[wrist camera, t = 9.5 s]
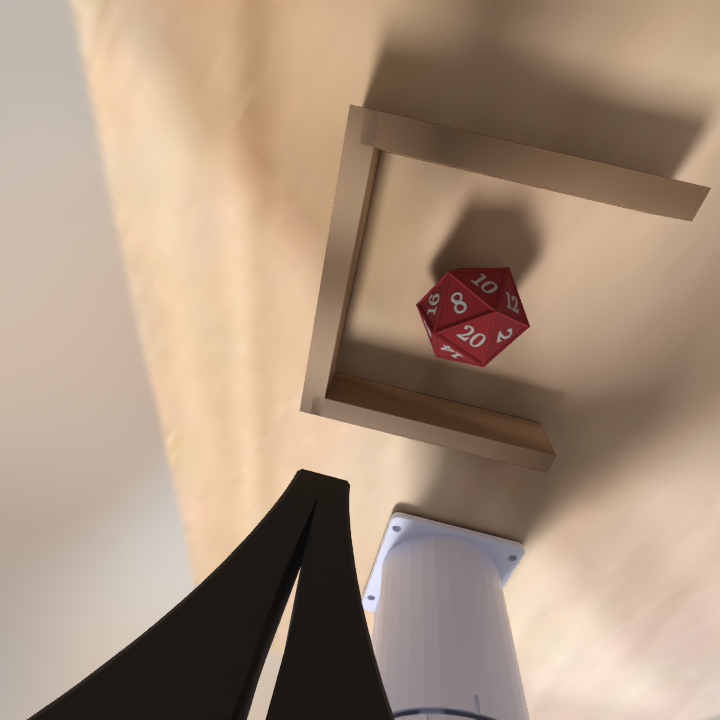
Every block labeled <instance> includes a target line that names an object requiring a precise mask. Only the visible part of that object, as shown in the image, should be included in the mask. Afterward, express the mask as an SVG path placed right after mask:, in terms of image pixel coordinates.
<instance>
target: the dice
mask: <svg viewBox="0 0 720 720" xmlns="http://www.w3.org/2000/svg"><path fill="white" fill-rule="evenodd" d="M416 306H417V308H418V310H419V313H420V315H421V318H422V321H423V323H424V326H425V329H426V331H427V334H428V337H429V339H430V342H431V345H432V347H433V350H434V353H435V356H436V357H439V358H443V359H448V360H453V361H457V362H462V363H466V364H471V365H476V366H480V367H485V366H486V365H487V364H488V363H489V362H490V361H491V360H492V359H493V358H495V357H496V356H497V355H498V354H499V353H500V352H501V351H503V350H504V349H505V348H506V347H507V346H508V345H509V344H511V343H512V342H513V341H514V340H515V339H516V338H517V337H519V336H520V335H521V334H522V333H523V332H524V331H525V330H526V329H528V328H529V327H530V325H529V322H528V320H527V317H526V314H525V311H524V308H523V305H522V303H521V300H520V297H519V294H518V291H517V288H516V285H515V283H514V280H513V277H512V274H511V271H510V268H509V267H508V268H462V269H461V268H458V269H455V270H452V271H448V272H447V273H446V274H445V275H444V277H443V278H442V279H441V280H440V281H439V282H438V283H437V284H436V285H435V286H434V287H433V288H432V289H431V290H430V291H429V292H428V293H427V294H426V295H425V296H424V297H423V298H422V299H421V300H420V301H419V302H418V303H417V304H416Z"/></svg>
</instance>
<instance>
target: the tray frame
mask: <svg viewBox="0 0 720 720" xmlns="http://www.w3.org/2000/svg"><path fill="white" fill-rule="evenodd" d="M380 151H384V152H388V153H393V154H397V155H401V156H405V157H410V158H414V159H418V160H423V161H427V162H431V163H435V164H440V165H444V166H448V167H453V168H457V169H461V170H465V171H470V172H474V173H478V174H482V175H487V176H491V177H495V178H500V179H504V180H508V181H512V182H517V183H521V184H525V185H529V186H534V187H538V188H542V189H547V190H551V191H555V192H559V193H564V194H568V195H572V196H576V197H581V198H585V199H589V200H594V201H598V202H602V203H606V204H611V205H615V206H619V207H624V208H628V209H632V210H636V211H641V212H645V213H649V214H654V215H660V216H665V217H671V218H676V219H682V220H687V221H692V220H693V218H694V217H695V215H696V213H697V212H698V210H699V208H700V206H701V205H702V203H703V201H704V199H705V198H706V196H707V194H708V193H709V191H710V189H711V188H709V187H705V186H700V185H696V184H692V183H687V182H683V181H679V180H674V179H670V178H666V177H661V176H657V175H653V174H648V173H644V172H640V171H636V170H631V169H627V168H623V167H618V166H614V165H610V164H605V163H601V162H597V161H592V160H588V159H584V158H579V157H575V156H571V155H566V154H562V153H558V152H553V151H549V150H545V149H541V148H536V147H532V146H528V145H523V144H519V143H515V142H510V141H506V140H502V139H497V138H493V137H489V136H484V135H480V134H476V133H471V132H467V131H463V130H459V129H454V128H450V127H446V126H441V125H437V124H433V123H428V122H424V121H420V120H415V119H411V118H407V117H402V116H398V115H394V114H389V113H385V112H381V111H376V110H372V109H368V108H364V107H359V106H355V105H351V104H350V108H349V114H348V120H347V126H346V132H345V138H344V145H343V151H342V157H341V163H340V169H339V175H338V181H337V187H336V193H335V199H334V206H333V212H332V218H331V224H330V230H329V236H328V242H327V248H326V254H325V260H324V267H323V273H322V279H321V285H320V291H319V297H318V303H317V309H316V315H315V321H314V328H313V334H312V340H311V346H310V352H309V358H308V364H307V370H306V376H305V382H304V389H303V395H302V401H301V407H300V411H302V412H306V413H310V414H314V415H318V416H322V417H326V418H330V419H334V420H338V421H342V422H346V423H350V424H354V425H358V426H362V427H366V428H370V429H374V430H378V431H382V432H386V433H390V434H394V435H398V436H402V437H406V438H410V439H414V440H418V441H422V442H426V443H430V444H434V445H438V446H442V447H446V448H450V449H454V450H458V451H462V452H466V453H470V454H474V455H478V456H482V457H486V458H489V459H493V460H497V461H501V462H505V463H509V464H513V465H517V466H521V467H525V468H529V469H533V470H537V471H541V472H545V473H547V471H548V469H549V468H550V466H551V464H552V462H553V461H554V459H555V457H556V455H555V453H554V451H553V449H552V447H551V445H550V443H549V441H548V439H547V437H546V434H545V432H544V430H543V428H542V426H541V424H540V423H538V422H534V421H530V420H526V419H522V418H518V417H514V416H510V415H506V414H502V413H498V412H494V411H490V410H486V409H482V408H478V407H474V406H470V405H466V404H462V403H457V402H453V401H449V400H445V399H441V398H437V397H433V396H429V395H425V394H421V393H417V392H413V391H409V390H405V389H401V388H397V387H393V386H389V385H385V384H381V383H377V382H373V381H369V380H365V379H361V378H357V377H352V376H348V375H344V374H340V373H336V372H335V370H336V365H337V360H338V355H339V350H340V345H341V340H342V335H343V330H344V325H345V321H346V316H347V311H348V306H349V301H350V296H351V291H352V286H353V281H354V276H355V271H356V267H357V262H358V257H359V252H360V247H361V242H362V237H363V232H364V227H365V222H366V217H367V213H368V208H369V203H370V198H371V193H372V188H373V183H374V178H375V173H376V168H377V164H378V159H379V154H380Z"/></svg>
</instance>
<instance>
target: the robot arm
mask: <svg viewBox="0 0 720 720" xmlns="http://www.w3.org/2000/svg"><path fill="white" fill-rule="evenodd" d="M349 491H350V484H349V483H348V481H346V480H342V479H338V478H335V477H331V476H327V475H323V474H319V473H316V472H312V471H308V470H304V469H301V470H299V471H297V473H296V475H295V476H294V478H293V480H292V481H291V483H290V484H289V486H288V487H287V489H286V490H285V491H284V493H283V494H282V496H281V497H280V498H279V499H278V501H277V502H276V503H275V505H274V506H273V507H272V508H271V510H270V511H269V512H268V513H267V514H266V516H265V517H264V518H263V519H262V520H261V521H260V523H259V524H258V525H257V526H256V527H255V529H254V530H253V531H252V532H251V533H250V534H249V535H248V536H247V537H246V538H245V540H244V541H243V542H242V543H241V544H240V545H239V546H238V547H237V548H236V549H235V550H234V551H233V552H232V553H231V554H230V555H229V556H228V557H227V558H226V560H225V561H224V562H223V563H222V564H221V565H220V566H219V567H218V568H216V569H215V570H214V571H213V572H212V573H211V574H210V575H209V576H208V577H207V578H206V579H205V580H204V581H203V582H202V583H201V584H200V585H199V586H198V587H196V588H195V589H194V590H193V591H192V592H191V593H190V594H189V595H188V596H187V597H186V598H184V599H183V600H182V601H181V602H180V603H179V604H177V605H176V606H175V607H174V608H173V609H172V610H171V611H169V612H168V613H167V614H166V615H165V616H164V617H162V618H161V619H160V620H159V621H158V622H157V623H156V624H154V625H153V626H152V627H150V628H149V629H148V630H147V631H146V632H144V633H143V634H142V635H141V636H139V637H138V638H137V639H136V640H135V641H133V642H132V643H131V644H129V645H128V646H127V647H125V649H123V650H122V651H120V652H119V653H118V654H116V655H115V656H114V657H112V658H111V659H110V660H109V661H107V662H106V663H105V664H103V665H102V666H101V667H99V668H98V669H97V670H96V671H94V672H93V673H92V674H90V675H89V676H88V677H86V678H85V679H84V680H82V681H81V682H80V683H78V684H77V685H76V686H74V687H73V688H71V689H70V690H69V691H67V692H66V693H65V694H63V695H62V696H60V697H59V698H57V699H56V700H55V701H53V702H52V703H50V704H49V705H47V706H46V707H44V708H43V709H42V710H40V711H39V712H37V713H36V714H34V715H33V716H32V717H30V718H29V719H27V720H247V717H248V714H249V711H250V707H251V704H252V700H253V697H254V693H255V690H256V687H257V684H258V680H259V678H260V675H261V672H262V669H263V666H264V663H265V660H266V657H267V654H268V652H269V649H270V647H271V644H272V641H273V639H274V636H275V633H276V631H277V628H278V625H279V623H280V620H281V617H282V615H283V612H284V610H285V607H286V604H287V602H288V599H289V596H290V594H291V591H292V588H293V586H294V583H295V580H296V578H297V575H298V572H299V570H300V574H299V579H298V584H297V589H296V594H295V600H294V605H293V610H292V615H291V620H290V625H289V630H288V636H287V641H286V646H285V651H284V655H283V658H282V662H281V666H280V669H279V673H278V677H277V680H276V684H275V687H274V691H273V695H272V699H271V702H270V706H269V709H268V713H267V716H266V720H530V719H529V714H528V709H527V704H526V699H525V695H524V690H523V685H522V680H521V675H520V671H519V666H518V661H517V656H516V651H515V647H514V642H513V637H512V632H511V627H510V623H509V618H508V613H507V608H506V603H505V599H504V594H503V587H504V585H505V584H506V582H507V581H508V579H509V577H510V576H511V574H512V573H513V571H514V569H515V568H516V566H517V565H518V563H519V561H520V560H521V558H522V557H523V555H524V548H523V545H522V544H521V543H519V542H515V541H511V540H508V539H504V538H500V537H496V536H492V535H488V534H484V533H480V532H476V531H472V530H468V529H464V528H460V527H457V526H453V525H449V524H445V523H441V522H437V521H433V520H429V519H425V518H421V517H417V516H413V515H409V514H406V513H402V512H395V513H393V514H392V515H391V517H390V520H389V523H388V526H387V528H386V531H385V534H384V537H383V540H382V543H381V545H380V548H379V551H378V554H377V557H376V560H375V563H374V565H373V568H372V571H371V574H370V577H369V580H368V582H367V585H366V588H365V591H364V594H363V597H362V600H361V595H360V590H359V585H358V580H357V574H356V568H355V561H354V554H353V546H352V539H351V529H350V515H349ZM395 525H396V526H395ZM300 567H301V569H300ZM364 609H365V610H368V611H372V612H375V613H374V623H373V634H372V642H371V638H370V635H369V631H368V627H367V622H366V618H365V614H364Z"/></svg>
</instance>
